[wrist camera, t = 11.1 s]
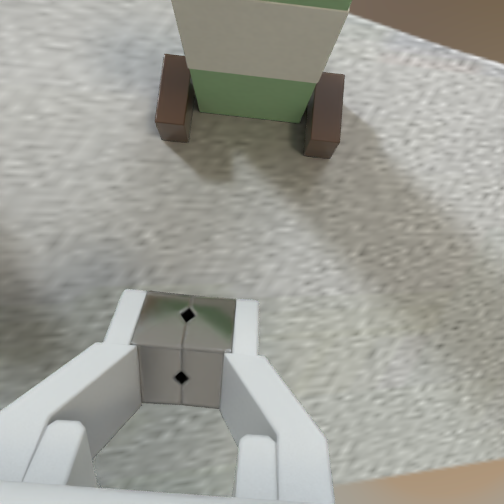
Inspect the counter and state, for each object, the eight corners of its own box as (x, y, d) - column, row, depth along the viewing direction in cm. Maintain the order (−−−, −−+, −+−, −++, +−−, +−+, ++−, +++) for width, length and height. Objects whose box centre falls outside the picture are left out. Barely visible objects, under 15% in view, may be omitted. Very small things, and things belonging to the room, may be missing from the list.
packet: (388, -78, 11) (400, -197, 11) (143, -109, 11) (157, -230, 11) (300, 124, 27) (305, 73, 27) (198, 112, 27) (204, 61, 27)
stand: (330, 159, 27) (339, 142, 25) (161, 140, 27) (154, 122, 24) (334, 96, 28) (345, 74, 25) (170, 77, 27) (164, 53, 25)
